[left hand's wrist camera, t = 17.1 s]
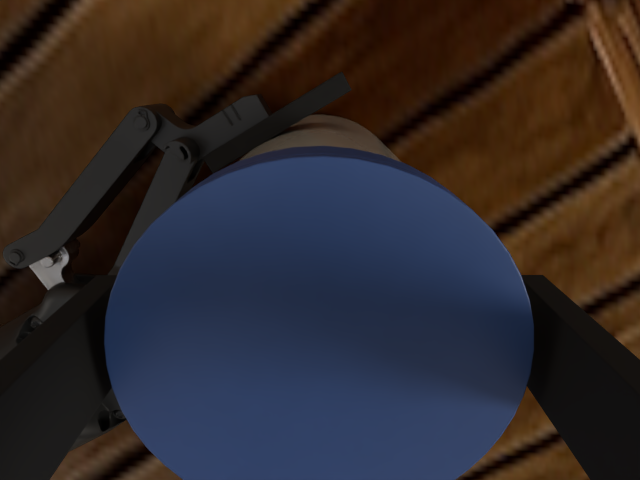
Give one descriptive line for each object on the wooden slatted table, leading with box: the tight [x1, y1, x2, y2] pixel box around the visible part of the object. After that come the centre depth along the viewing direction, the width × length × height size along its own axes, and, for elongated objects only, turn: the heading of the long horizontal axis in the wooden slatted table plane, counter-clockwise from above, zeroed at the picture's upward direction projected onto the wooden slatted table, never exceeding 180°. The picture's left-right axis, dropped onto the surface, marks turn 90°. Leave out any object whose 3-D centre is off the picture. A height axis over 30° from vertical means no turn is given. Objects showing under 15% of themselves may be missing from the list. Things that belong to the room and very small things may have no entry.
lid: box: [104, 146, 534, 480], centre depth 11 cm, size 11×11×2 cm
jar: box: [239, 115, 401, 162], centre depth 19 cm, size 10×10×16 cm
